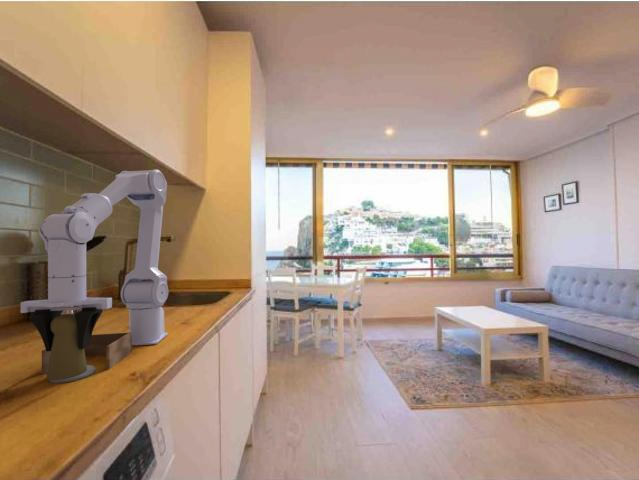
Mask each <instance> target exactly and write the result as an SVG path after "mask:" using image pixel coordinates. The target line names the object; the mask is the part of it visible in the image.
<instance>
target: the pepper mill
mask: <svg viewBox="0 0 639 480" xmlns="http://www.w3.org/2000/svg"><path fill="white" fill-rule="evenodd" d="M50 328H51V331H52V332H53V333H54V338H53V343H52V349H51V354H50V360H49V365H48V371H47V373H46V379H48V380H49V379H51V380H58V379H66V378H70V377H74V376H77V375H80V374H82V373H84V372H86V371H87V365H88V364H87V359H86V356H85V351H84V349H79V346H78V327H77V322H76V318H75V316H74V313H66V314H61V315H60V316H57V317H55V318H53V320H52V321H51V324H50Z"/></svg>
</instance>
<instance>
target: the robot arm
mask: <svg viewBox="0 0 639 480" xmlns="http://www.w3.org/2000/svg"><path fill="white" fill-rule="evenodd" d="M167 188H168V181H167V180H166V178H165V176H164V174H163V173H162V171H161V170H160V169H151V170H149V169H148V170H131V171H129V170H123V171H121V172H120V173H118V174H116V175H115V179H114V180H113V181H112V182H110V183H109V185H107V186H106V187H104V189H102V190H101V191H100V192H99V193H95V192H92V193H91V192H89V193H88V192H87V193H83V194H82V195H80V198H81V199H79V200H78V201H76V202H75V203H72V205H67V206H65V207H64V210H63V211H62V212H61V213H53V214H50V215H48V216H47V217H46V218H45V219H44V220H43V221H42V223H41V226H40V227H38V233H39V237H40V238H41V239H42V240H43V242H44V249H45V250H46V253H47V299H37V300H25V301H21V302H20V314H23V313H24V314H26V313H32V312H33V314H32V315H30V316H29V321H30V322H31V323H32V325H34V327H35V329H37V331H38V334H39V335H40V337H41V339H42V343H43V346H44V349H46V351H51V349H52V343H53V338H54V333H53V332H52V331H51V328H50V324H51V321H52V320H53V318H55V317H57V316H60V315H62V313H63V311H77V312H74V313H73V314H74V316H75V318H76V322H77V327H78V346H79V349H84V348H86V347H88V346H89V343H90V339H91V335H93V332H94V329H95V326H96V325H97V322H98V320H99V318H100V317H101V316H102V314H103V311H104V310H108V309H111V308H112V307H113V297H87V243H88V242H90V241H92V240H93V238H94V237H95V231H96V230H97V228H98V226H99V225H100V224H101V223H103V222H105V220H106V219H107V218H109V216H111V215H112V213H113V211H114V210H113V206H114V205H116V204H117V203H118V202H120V201H122V200H123V199H125V198H127V199H128V200H129V201H130V203H132V204H133V205H134V206H136V207H138V208H139V209H140V215H139V225H138V236H137V243H136V254H135V261H134V262H135V263H134V269H132V270H131V271H130V272H128V273H127V274H125V277H124V282H123V285H122V286H121V290H120V299H121V301H122V303H123V304H124V305H126V306H125V307H126V309H128V325H129V326H128V333H131V332H132V346H144V345H149V346H150V345H157V344H159V342H161V341H162V340H163V339H164V338H165V337H166V336H168V335H169V332H165V311H164V308H163V307H162V306H163V305H164V304H165V303H166V301H167V300H168V296H169V286H168V276H167V275H166V274H165V273H163V272H162V271H161V270H159V268H158V267H159V259H160V248H161V247H160V246H161V236H162V234H161V233H162V225H163V214H164V213H163V212H164V205H165V204H166V199H167V190H168V189H167ZM79 310H80V311H79Z"/></svg>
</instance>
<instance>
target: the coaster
mask: <svg viewBox="0 0 639 480" xmlns="http://www.w3.org/2000/svg"><path fill="white" fill-rule="evenodd" d="M86 365H87V371H86V372H84V373H82V374H80V375H77V376H74V377H70V378H66V379H58V380H51V379H48V382H49V383H51V384H65V383H71V382H76V381H79V380H83V379H86V378H88V377H90V376H92V375H93V374H95V373H96V367H95V366H94V365H90V364H89V365H88V364H86Z"/></svg>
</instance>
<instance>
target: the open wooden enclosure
mask: <svg viewBox="0 0 639 480" xmlns="http://www.w3.org/2000/svg"><path fill="white" fill-rule="evenodd" d="M132 349H133V347H132V332H131V333H129V332H118V333H116V332H114V333H100V334H99V333H97V334H96V333H95V334H92V335H91V339H90V343H89V346H88V347H86V348H84V351H85V357H86V356H100V355H106V370H110V369H112V368H113V367H114V366H115V365H117V364H118V363H119V362H121V361H122V360H123V359H124V358H126V357H127V356H129V355H130V354H131V353H132ZM50 354H51V351H46V348H44V349H42V350H41V375H44V374H47V371H48V365H49V360H50Z"/></svg>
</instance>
